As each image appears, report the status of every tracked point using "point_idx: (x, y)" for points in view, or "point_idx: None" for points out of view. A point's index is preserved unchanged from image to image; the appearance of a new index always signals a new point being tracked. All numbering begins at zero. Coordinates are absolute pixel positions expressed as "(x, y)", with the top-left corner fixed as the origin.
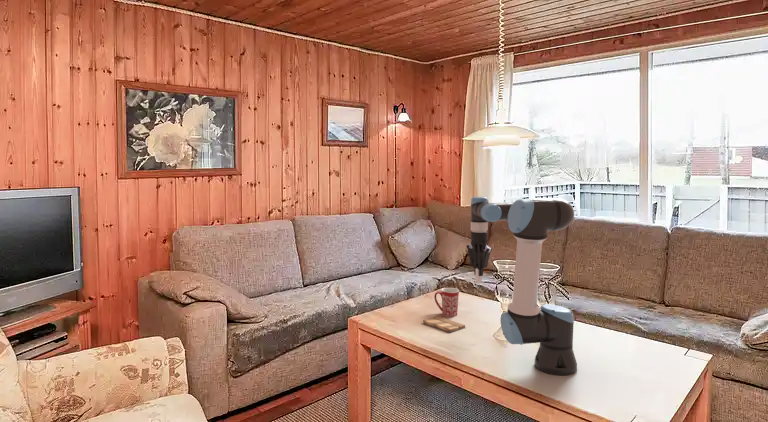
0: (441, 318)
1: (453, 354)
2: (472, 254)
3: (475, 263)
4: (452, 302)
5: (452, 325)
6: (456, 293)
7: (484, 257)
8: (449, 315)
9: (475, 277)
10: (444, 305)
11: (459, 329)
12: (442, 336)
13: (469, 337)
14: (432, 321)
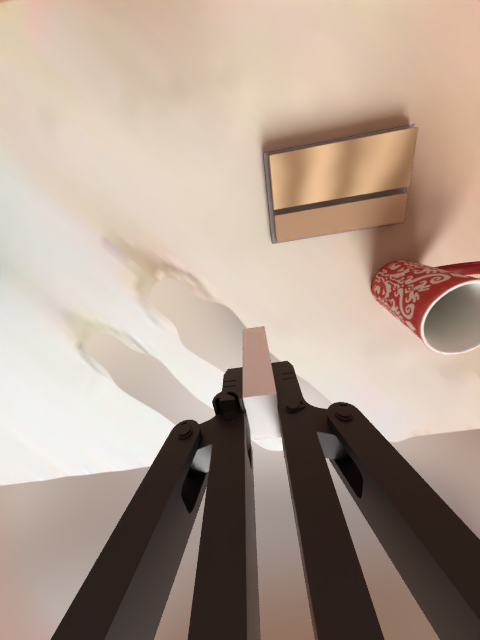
0: (379, 215)
1: (104, 16)
2: (447, 614)
3: (291, 444)
4: (404, 290)
5: (299, 198)
6: (418, 320)
7: (101, 604)
8: (386, 270)
9: (267, 345)
10: (426, 268)
11: (273, 211)
12: (272, 119)
13: (215, 203)
14: (379, 154)
